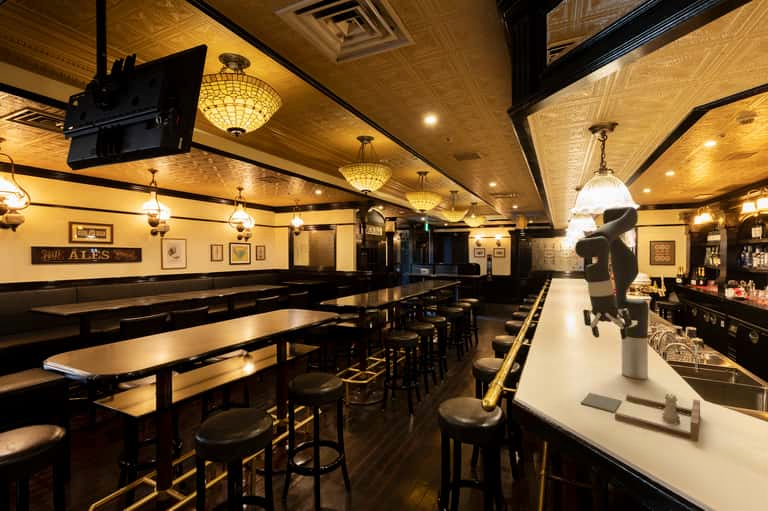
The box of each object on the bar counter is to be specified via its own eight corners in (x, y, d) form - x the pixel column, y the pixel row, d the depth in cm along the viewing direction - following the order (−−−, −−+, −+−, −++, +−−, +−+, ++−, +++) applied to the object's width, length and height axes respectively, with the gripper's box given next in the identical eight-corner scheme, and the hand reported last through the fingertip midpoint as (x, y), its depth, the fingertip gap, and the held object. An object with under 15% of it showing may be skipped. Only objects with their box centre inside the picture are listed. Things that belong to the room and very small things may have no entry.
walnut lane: (627, 398, 125) (627, 385, 125) (700, 416, 111) (700, 400, 111) (615, 418, 109) (615, 403, 109) (698, 441, 96) (698, 423, 96)
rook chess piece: (676, 418, 109) (675, 393, 109) (683, 425, 105) (682, 399, 105) (659, 416, 111) (659, 391, 111) (665, 422, 107) (665, 397, 107)
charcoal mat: (589, 394, 129) (589, 392, 129) (621, 401, 122) (621, 400, 122) (580, 403, 120) (580, 402, 120) (614, 412, 113) (614, 411, 113)
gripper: (628, 290, 117) (637, 336, 117) (584, 291, 129) (593, 333, 129) (620, 294, 113) (629, 343, 113) (575, 295, 124) (584, 339, 124)
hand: (610, 337), depth 121 cm, fingers open, 8 cm apart
